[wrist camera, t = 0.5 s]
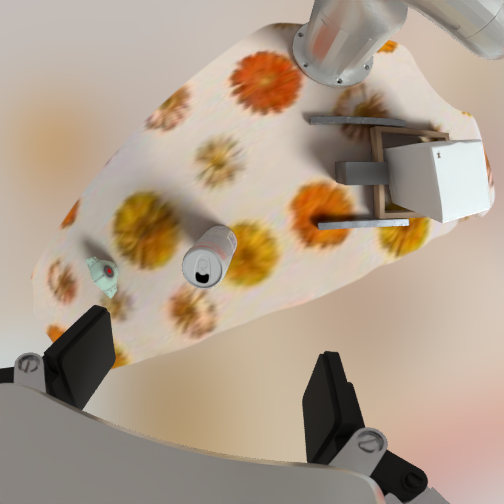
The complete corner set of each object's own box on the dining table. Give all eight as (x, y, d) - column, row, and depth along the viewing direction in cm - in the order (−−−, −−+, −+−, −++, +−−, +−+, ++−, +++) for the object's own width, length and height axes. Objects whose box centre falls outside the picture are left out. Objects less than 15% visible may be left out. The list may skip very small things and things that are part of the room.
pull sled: (332, 127, 37) (341, 121, 31) (440, 134, 35) (460, 132, 30) (337, 217, 41) (347, 225, 35) (442, 213, 39) (462, 221, 34)
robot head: (97, 253, 46) (76, 265, 39) (110, 242, 45) (90, 254, 39) (120, 289, 48) (102, 305, 41) (134, 279, 47) (117, 296, 40)
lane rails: (309, 118, 37) (310, 116, 36) (400, 121, 36) (404, 120, 34) (317, 227, 42) (318, 229, 41) (404, 223, 41) (408, 225, 39)
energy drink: (202, 255, 45) (179, 286, 33) (204, 222, 43) (181, 244, 32) (235, 260, 44) (222, 293, 33) (239, 227, 43) (227, 251, 31)
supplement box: (391, 204, 40) (440, 225, 26) (379, 149, 38) (428, 144, 23) (435, 194, 39) (491, 210, 24) (425, 141, 36) (482, 138, 22)
